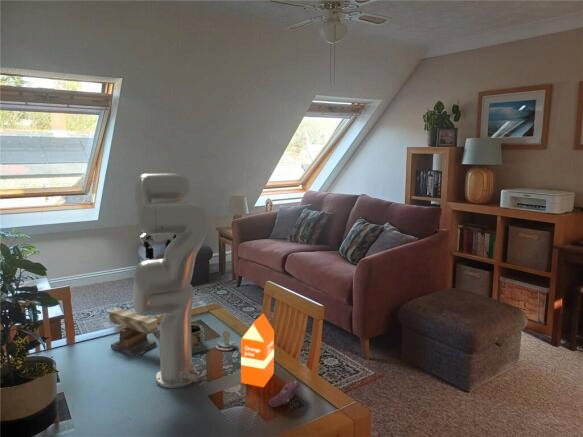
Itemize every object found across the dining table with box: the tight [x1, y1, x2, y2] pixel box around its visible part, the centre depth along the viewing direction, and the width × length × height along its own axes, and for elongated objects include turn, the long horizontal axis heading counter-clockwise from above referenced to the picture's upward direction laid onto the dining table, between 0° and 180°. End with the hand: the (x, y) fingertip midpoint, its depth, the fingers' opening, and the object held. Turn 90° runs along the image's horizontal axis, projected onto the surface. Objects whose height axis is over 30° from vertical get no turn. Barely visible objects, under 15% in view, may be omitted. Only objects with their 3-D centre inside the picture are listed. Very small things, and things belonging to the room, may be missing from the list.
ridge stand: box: [110, 327, 157, 357], centre depth 157 cm, size 12×10×8 cm
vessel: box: [191, 323, 203, 350], centre depth 160 cm, size 12×9×6 cm
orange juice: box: [240, 313, 275, 388], centre depth 137 cm, size 8×9×20 cm
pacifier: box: [215, 329, 237, 352], centre depth 158 cm, size 7×6×6 cm
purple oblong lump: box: [268, 379, 302, 408], centre depth 126 cm, size 10×5×7 cm, turn 150°
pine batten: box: [108, 308, 159, 335], centre depth 156 cm, size 20×4×4 cm, turn 61°
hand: (159, 255), depth 159 cm, fingers open, 9 cm apart
